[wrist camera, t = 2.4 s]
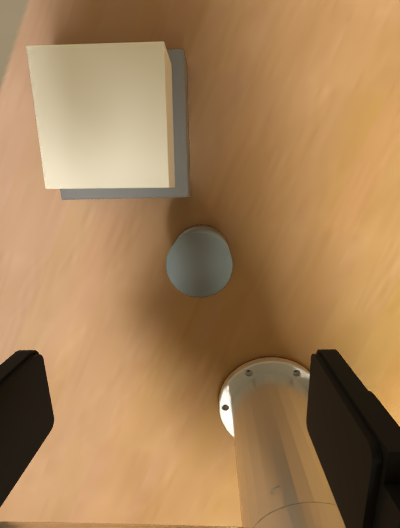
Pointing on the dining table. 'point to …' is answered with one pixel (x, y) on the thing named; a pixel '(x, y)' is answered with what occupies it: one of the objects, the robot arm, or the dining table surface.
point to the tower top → (104, 114)
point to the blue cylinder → (199, 261)
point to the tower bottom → (179, 146)
